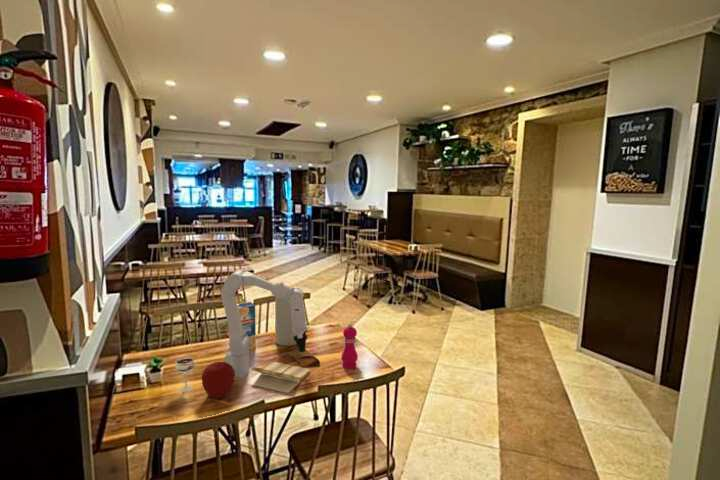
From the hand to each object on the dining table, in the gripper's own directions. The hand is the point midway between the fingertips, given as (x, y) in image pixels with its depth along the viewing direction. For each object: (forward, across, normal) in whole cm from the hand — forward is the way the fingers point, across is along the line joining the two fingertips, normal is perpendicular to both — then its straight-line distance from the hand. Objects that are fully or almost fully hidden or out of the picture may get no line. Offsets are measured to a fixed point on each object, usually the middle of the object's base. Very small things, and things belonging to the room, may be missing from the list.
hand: (302, 347), depth 163 cm
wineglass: (+6, -9, +46) cm, 47 cm away
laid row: (+10, 0, +8) cm, 13 cm away
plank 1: (+7, -5, +16) cm, 18 cm away
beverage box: (+8, +27, +30) cm, 41 cm away
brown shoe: (+12, +12, +1) cm, 17 cm away
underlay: (+10, -4, +11) cm, 15 cm away
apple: (+8, -15, +32) cm, 37 cm away
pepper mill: (+14, +3, -19) cm, 24 cm away
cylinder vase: (+10, +33, +9) cm, 36 cm away
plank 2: (+8, -9, +8) cm, 14 cm away
